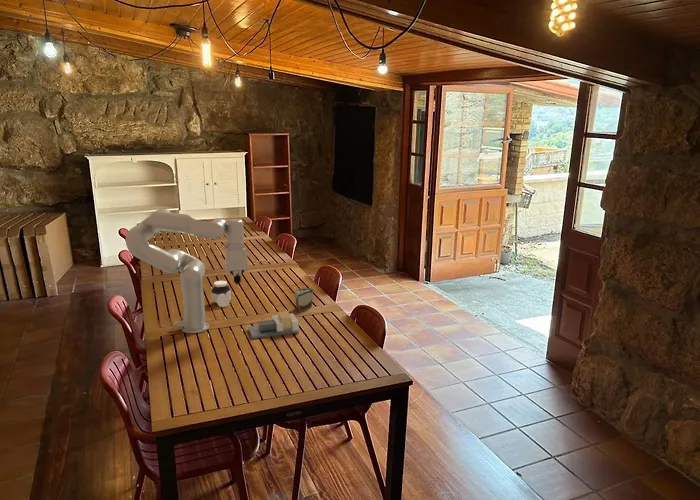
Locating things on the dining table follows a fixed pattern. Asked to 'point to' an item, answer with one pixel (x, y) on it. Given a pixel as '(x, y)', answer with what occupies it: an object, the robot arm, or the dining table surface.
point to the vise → (257, 333)
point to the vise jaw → (271, 324)
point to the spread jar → (221, 293)
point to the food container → (303, 298)
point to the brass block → (286, 320)
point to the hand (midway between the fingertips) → (237, 283)
